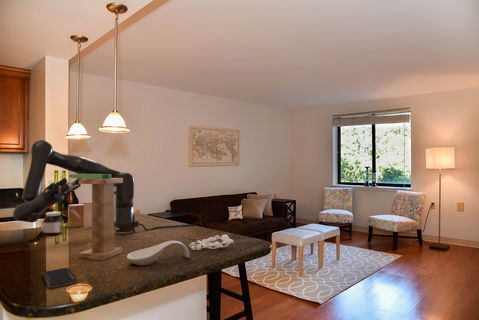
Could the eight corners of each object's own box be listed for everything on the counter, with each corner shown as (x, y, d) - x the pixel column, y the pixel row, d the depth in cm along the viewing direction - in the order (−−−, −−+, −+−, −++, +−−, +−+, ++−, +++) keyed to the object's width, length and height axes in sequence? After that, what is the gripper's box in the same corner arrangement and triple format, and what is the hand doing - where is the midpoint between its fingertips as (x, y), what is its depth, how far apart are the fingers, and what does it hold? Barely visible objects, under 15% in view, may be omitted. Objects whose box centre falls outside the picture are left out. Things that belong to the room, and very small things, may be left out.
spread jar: (54, 236, 169) (54, 214, 169) (33, 236, 170) (33, 214, 170) (67, 231, 181) (67, 210, 181) (47, 231, 182) (47, 210, 182)
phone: (67, 267, 115) (76, 279, 103) (67, 270, 115) (76, 282, 103) (41, 272, 110) (48, 285, 98) (41, 275, 110) (48, 288, 98)
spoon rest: (128, 270, 116) (128, 250, 116) (125, 261, 126) (125, 242, 126) (192, 261, 126) (192, 242, 126) (184, 253, 136) (184, 236, 136)
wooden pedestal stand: (76, 257, 131) (76, 178, 132) (98, 249, 143) (98, 177, 143) (104, 260, 127) (104, 179, 127) (124, 252, 138) (124, 178, 139)
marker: (68, 178, 140) (68, 173, 140) (72, 177, 141) (72, 173, 141) (108, 178, 133) (108, 174, 133) (111, 178, 135) (111, 174, 135)
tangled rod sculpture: (193, 256, 136) (192, 246, 136) (186, 245, 150) (186, 236, 149) (236, 250, 142) (236, 241, 142) (226, 240, 156) (226, 232, 156)
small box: (69, 227, 192) (69, 205, 192) (68, 225, 197) (68, 204, 197) (84, 226, 196) (84, 204, 196) (82, 224, 201) (82, 203, 202)
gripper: (32, 191, 138) (56, 172, 134) (60, 188, 152) (83, 171, 147) (38, 206, 137) (63, 188, 132) (66, 202, 150) (90, 185, 146)
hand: (74, 179), depth 140 cm, fingers open, 8 cm apart
